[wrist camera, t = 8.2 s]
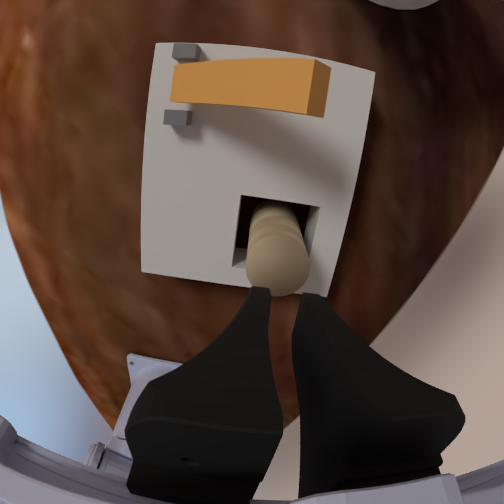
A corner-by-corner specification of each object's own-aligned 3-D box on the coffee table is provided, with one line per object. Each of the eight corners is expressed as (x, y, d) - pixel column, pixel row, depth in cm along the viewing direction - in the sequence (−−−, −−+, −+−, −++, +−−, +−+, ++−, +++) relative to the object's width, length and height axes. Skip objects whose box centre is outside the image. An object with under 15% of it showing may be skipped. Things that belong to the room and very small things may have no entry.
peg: (300, 202, 20) (316, 244, 14) (290, 244, 22) (302, 300, 15) (254, 195, 20) (251, 233, 14) (247, 237, 22) (241, 291, 15)
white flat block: (319, 274, 23) (330, 307, 19) (155, 252, 22) (135, 280, 18) (359, 77, 17) (383, 69, 13) (170, 52, 16) (149, 38, 13)
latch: (323, 118, 10) (306, 114, 10) (188, 103, 15) (169, 102, 14) (331, 67, 10) (314, 58, 9) (193, 67, 14) (174, 65, 13)
